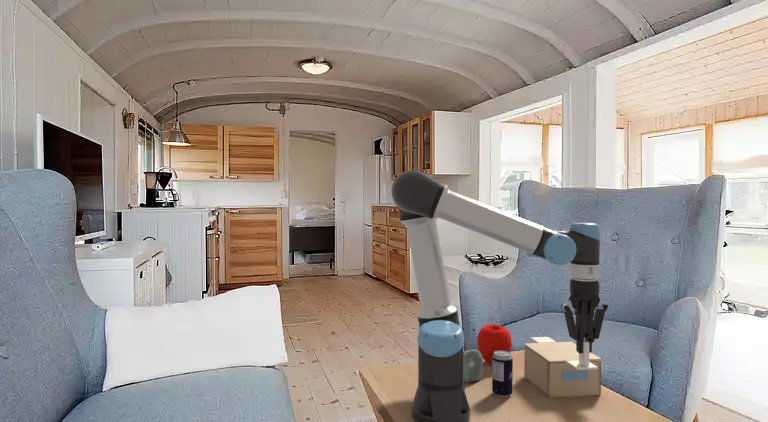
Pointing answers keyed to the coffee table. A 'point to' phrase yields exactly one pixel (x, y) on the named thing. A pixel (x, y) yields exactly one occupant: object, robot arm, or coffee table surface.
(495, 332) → the apple
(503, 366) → the beverage can
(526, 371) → the carton
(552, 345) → the far flap
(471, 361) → the decorative stone
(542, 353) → the near flap
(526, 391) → the coffee table surface
